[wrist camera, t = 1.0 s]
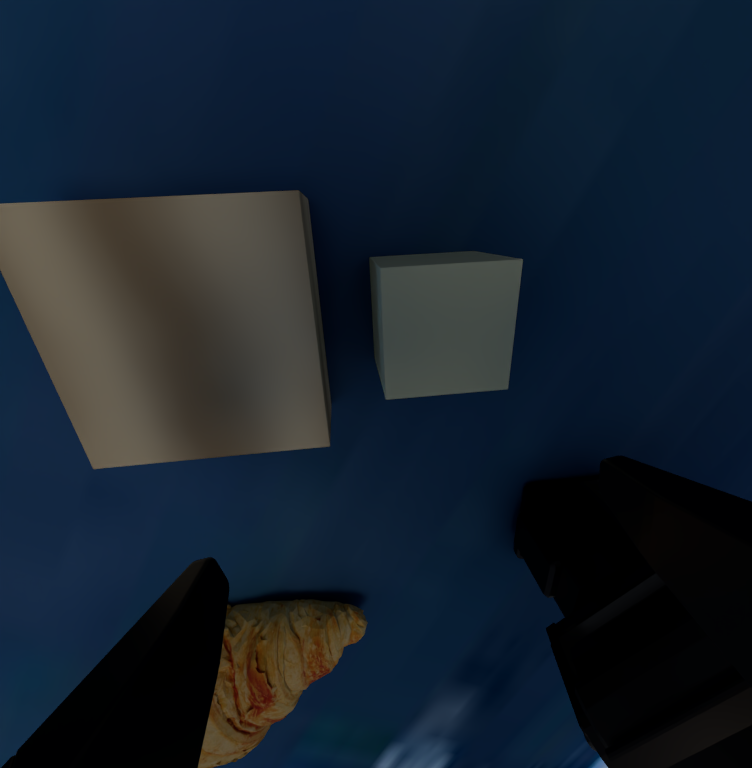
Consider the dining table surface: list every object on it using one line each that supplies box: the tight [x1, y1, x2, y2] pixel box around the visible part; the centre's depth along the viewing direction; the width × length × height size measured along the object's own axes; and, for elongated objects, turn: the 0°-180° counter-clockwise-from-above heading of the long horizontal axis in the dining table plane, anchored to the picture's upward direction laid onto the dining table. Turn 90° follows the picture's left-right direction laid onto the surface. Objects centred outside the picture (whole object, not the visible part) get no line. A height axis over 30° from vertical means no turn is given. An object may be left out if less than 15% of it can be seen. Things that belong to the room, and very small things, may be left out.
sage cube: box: [369, 251, 523, 400], centre depth 15 cm, size 5×5×5 cm
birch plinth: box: [0, 190, 331, 469], centre depth 15 cm, size 10×10×4 cm
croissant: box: [198, 599, 367, 768], centre depth 24 cm, size 21×10×8 cm, turn 115°
